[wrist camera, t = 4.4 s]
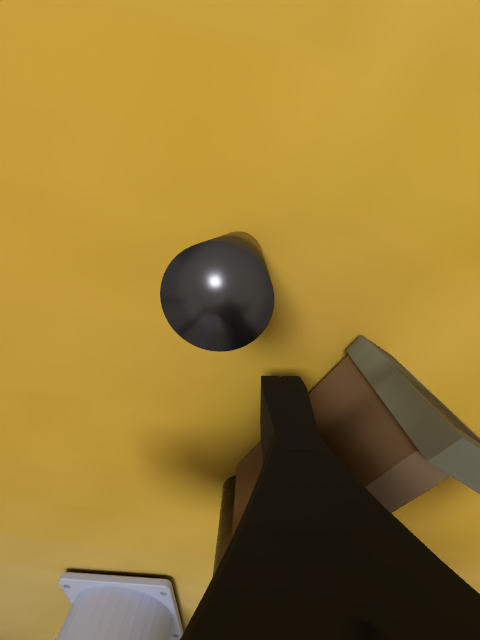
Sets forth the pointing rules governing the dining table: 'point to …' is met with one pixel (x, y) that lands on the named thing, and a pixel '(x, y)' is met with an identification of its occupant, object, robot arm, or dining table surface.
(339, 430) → the brown wooden block
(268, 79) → the dining table surface
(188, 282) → the gate posts
